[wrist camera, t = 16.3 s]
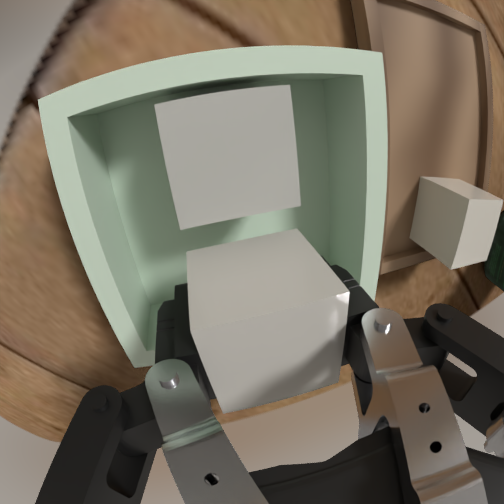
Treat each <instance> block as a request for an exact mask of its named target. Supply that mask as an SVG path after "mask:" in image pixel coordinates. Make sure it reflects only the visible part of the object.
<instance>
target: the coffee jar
mask: <svg viewBox="0 0 504 504" xmlns="http://www.w3.org/2000/svg"><path fill="white" fill-rule="evenodd" d="M485 275H486V277H487V278H488V279H489V280H490V281H491V282H493V283H494V284H495V285H496V286H498V287H499V288H500V289H501V290H503V291H504V212H503V213H502V214H501V215H500V216H499V220H498V224H497V228H496V231H495V235H494V238H493V242H492V245H491V248H490V251H489V254H488V257H487V260H486V261H485Z"/></svg>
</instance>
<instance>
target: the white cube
mask: <svg viewBox="0 0 504 504" xmlns="http://www.w3.org/2000/svg"><path fill="white" fill-rule="evenodd" d="M502 204H503V200H502V199H500V198H498V197H496V196H494V195H492V194H490V193H488V192H486V191H484V190H482V189H480V188H478V187H475V186H473V185H471V184H469V183H467V182H464V181H462V180H460V179H452V178H439V177H423V176H420V183H419V190H418V196H417V202H416V207H415V213H414V218H413V223H412V228H411V233H410V237H409V238H410V239H412V240H413V241H414V242H416V243H417V244H418V245H420V246H421V247H422V248H424V249H425V250H426V251H428V252H429V253H430V254H432V255H433V256H434V257H436V258H437V259H438V260H439V261H441V262H442V263H443V264H444V265H446V266H447V267H448V268H449V269H455V268H459V267H463V266H467V265H471V264H475V263H479V262H482V261H486V260H487V257H488V254H489V251H490V248H491V245H492V242H493V238H494V235H495V231H496V228H497V224H498V220H499V216H500V212H501V208H502Z"/></svg>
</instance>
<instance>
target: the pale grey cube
mask: <svg viewBox="0 0 504 504" xmlns="http://www.w3.org/2000/svg"><path fill="white" fill-rule="evenodd" d="M186 257H187V283H188V303H189V319H190V331H191V334H192V337H193V340H194V342H195V345H196V348H197V350H198V353H199V355H200V358H201V361H202V363H203V366H204V368H205V371H206V373H207V376H208V378H209V381H210V383H211V386H212V388H213V390H214V393H215V395H216V398H217V400H218V402H219V405H220V407H221V409H222V412H223V413H228V412H233V411H238V410H243V409H247V408H252V407H256V406H260V405H264V404H268V403H272V402H276V401H279V400H283V399H287V398H290V397H294V396H297V395H301V394H304V393H307V392H310V391H314V390H317V389H320V388H323V387H326V386H329V385H332V384H335V383H338V381H339V375H340V369H341V362H342V355H343V348H344V340H345V332H346V324H347V314H348V305H349V294H350V291H349V290H348V289H347V288H346V286H345V285H344V284H343V283H342V281H341V280H340V279H339V278H338V277H337V275H336V274H335V273H334V272H333V270H332V269H331V268H330V267H329V266H328V264H327V263H326V262H325V261H324V260H323V258H322V257H321V256H320V255H319V254H318V252H317V251H316V250H315V249H314V248H313V246H312V245H311V244H310V243H309V242H308V241H307V239H306V238H305V237H304V236H303V235H302V234H301V232H300V231H299V230H298V229H297V228H296V229H292V230H287V231H282V232H277V233H272V234H267V235H262V236H258V237H253V238H248V239H243V240H238V241H234V242H229V243H224V244H220V245H215V246H210V247H206V248H201V249H196V250H192V251H187V252H186Z"/></svg>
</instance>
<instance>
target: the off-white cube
mask: <svg viewBox="0 0 504 504" xmlns="http://www.w3.org/2000/svg"><path fill="white" fill-rule="evenodd" d="M154 106H155V112H156V117H157V123H158V128H159V134H160V139H161V144H162V149H163V154H164V159H165V164H166V169H167V174H168V178H169V183H170V188H171V192H172V196H173V201H174V205H175V209H176V214H177V218H178V222H179V226H180V230H183V229H187V228H192V227H197V226H201V225H206V224H211V223H216V222H221V221H225V220H230V219H235V218H240V217H245V216H250V215H256V214H261V213H266V212H271V211H277V210H282V209H287V208H293V207H298V206H301V199H300V185H299V171H298V159H297V147H296V136H295V126H294V116H293V107H292V98H291V89H290V85H279V86H266V87H255V88H246V89H237V90H230V91H223V92H216V93H210V94H204V95H198V96H192V97H187V98H182V99H177V100H172V101H168V102H163V103H159V104H155V105H154Z"/></svg>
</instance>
